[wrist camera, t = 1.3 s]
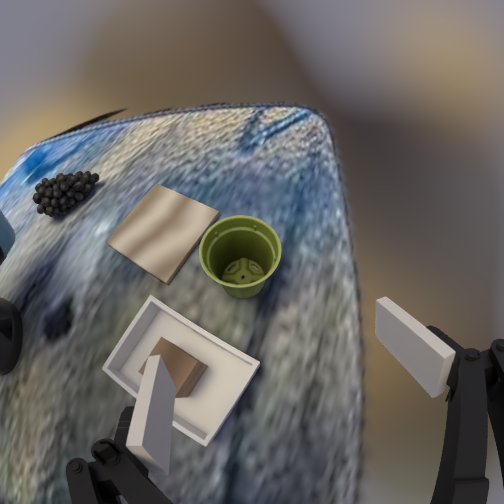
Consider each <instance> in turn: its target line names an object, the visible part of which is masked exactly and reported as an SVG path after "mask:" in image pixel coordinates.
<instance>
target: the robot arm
mask: <svg viewBox="0 0 504 504" xmlns="http://www.w3.org/2000/svg"><path fill="white" fill-rule="evenodd" d="M14 242H15V232H14V230H13V228H12V226H11V225H10V223H9V222H8V220H7V219H6V217H5V216H4V215H3V213H2V212H1V210H0V265H1V264H2V262H3V261H4V260H5V259H6V257H7V254H8V252H9V251H10V249H11V247H12V246H13V244H14ZM375 336H376V338H377V339H378V340H379V341H380V342H381V343H382V344H383V345H384V346H385V347H386V348H387V349H388V350H389V351H390V352H391V354H392V355H393V356H394V357H395V358H396V359H397V360H398V361H399V362H400V363H401V364H402V365H403V366H404V367H405V368H406V370H407V371H408V372H409V373H410V374H411V375H412V376H413V377H414V378H415V379H416V380H417V382H418V383H419V384H420V385H421V386H422V387H423V388H424V389H425V390H426V391H427V392H428V394H429V395H430V396H431V397H432V398H435V397H436V396H438V395H439V394H441V393H442V392H444V389H445V386H446V384H447V385H448V386H449V387H450V389H449V392H448V395H447V398H446V402H447V400H448V411H447V422H446V430H445V438H444V445H443V451H442V457H441V462H440V467H439V472H438V477H437V481H436V485H435V489H434V493H433V497H432V500H431V503H430V504H486V502H487V496H488V490H489V480H488V479H487V478H485V467H486V455H487V436H488V434H487V433H488V414H489V418H490V421H491V425H492V429H493V432H494V437H495V441H496V445H497V450H498V455H499V460H500V466H501V472H502V478H503V487H504V340H503V339H496V340H494V341H493V342H492V344H491V347H490V349H488V350H485V351H482V352H480V351H478V350H476V349H472V348H469V349H464V348H462V347H461V346H460V345H459V344H457V343H456V342H455V341H453V340H452V339H451V338H450V337H448V336H447V335H446V334H444V333H443V332H442V331H441V330H439V329H438V328H436V327H433V326H427V327H424V326H423V325H422V324H421V323H419V322H418V321H417V320H415V319H414V318H413V317H412V316H411V315H409V314H408V313H407V312H405V311H404V310H403V309H401V308H400V307H399V306H397V305H396V304H395V303H394V302H392V301H391V300H390V299H388V298H387V297H383V298H381V299H378V300H376V323H375ZM21 343H22V325H21V319H20V315H19V313H18V310H17V309H16V307H15V306H14V305H13V304H12V303H11V302H9V301H7V300H6V299H4V298H0V375H4V374H7V373H8V372H10V371H11V370H12V368H13V367H14V365H15V364H16V362H17V359H18V357H19V353H20V349H21ZM175 395H176V387H175V385H174V383H173V381H172V378H171V376H170V374H169V372H168V370H167V368H166V366H165V364H164V361H163V359H162V357H161V355H155V356H148V360H147V363H146V367H145V370H144V374H143V377H142V381H141V385H140V389H139V392H138V396H137V400H136V404H135V406H129V407H126V408H125V409H124V411H123V412H122V413H121V416H120V420H119V423H118V429H117V431H116V434H115V438H114V441H113V440H111V439H101V440H99V441H97V442H96V443H95V444H94V445H93V447H92V450H91V453H92V456H93V457H94V458H95V459H96V460H97V461H95V462H90V463H87V462H86V461H85V460H84V459H82V458H74V459H72V460H70V461H69V462H68V464H67V466H66V474H67V480H68V486H69V491H70V496H71V500H72V504H122V503H121V500H120V498H119V495H122V496H123V497H124V498H125V500H126V501H127V502H128V504H173V503H172V502H171V501H170V500H169V499H168V498H167V497H166V496H165V495H164V494H163V493H162V492H161V491H160V490H159V489H158V488H157V486H156V485H155V484H154V483H153V482H152V481H151V480H150V479H149V478H148V472H150V473H151V474H152V475H153V476H169V462H170V448H171V435H172V424H173V414H174V404H175ZM487 411H488V414H487Z"/></svg>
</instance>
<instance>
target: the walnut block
mask: <svg viewBox="0 0 504 504" xmlns="http://www.w3.org/2000/svg"><path fill="white" fill-rule="evenodd" d="M155 355H161V357H162V359H163V361H164V364H165V366H166V368H167V370H168V372H169V374H170V376H171V378H172V381H173V383H174V385H175V387H176V395H175V398H186V397H188V396H189V395H190V393H191V392H192V390H193V389H194V387H195V386H196V384H197V383H198V381H199V379H200V378H201V376H202V375H203V373H204V372H205V370H206V369H207V367H208V366H207V365H206V364H204V363H203V362H201V361H199V360H198V359H196V358H195V357H193V356H192V355H190V354H189V353H187V352H185V351H184V350H182V349H181V348H179V347H178V346H176V345H175V344H173V343H171V342H170V341H168V340H166V339H165V338H163V337H161V338H160V339H159V341H158V342H157V344H156V345H155V347H154V348H153V350H152V351H151V353H150V354H149V356H155ZM147 360H148V358H147V359H146V361H145V362H144V364H143V365H142V367H141V368H140V370H139V371H138V372H139V373H140V374H142V375H143V374H144V370H145V367H146V363H147Z"/></svg>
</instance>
